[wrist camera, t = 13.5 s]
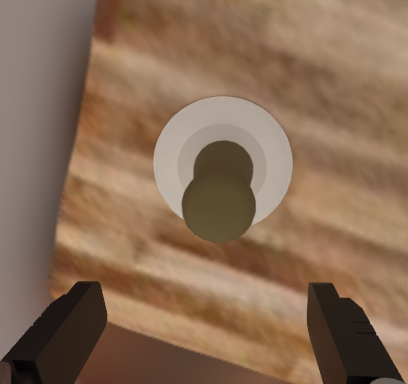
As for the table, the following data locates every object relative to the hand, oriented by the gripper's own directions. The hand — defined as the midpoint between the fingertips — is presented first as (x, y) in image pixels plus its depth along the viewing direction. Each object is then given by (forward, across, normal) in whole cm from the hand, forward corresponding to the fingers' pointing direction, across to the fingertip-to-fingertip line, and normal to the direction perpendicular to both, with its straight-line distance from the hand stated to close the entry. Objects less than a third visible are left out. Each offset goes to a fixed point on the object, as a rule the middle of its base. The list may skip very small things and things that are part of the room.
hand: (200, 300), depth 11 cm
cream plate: (+20, 0, 0) cm, 20 cm away
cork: (+19, 0, 0) cm, 19 cm away
